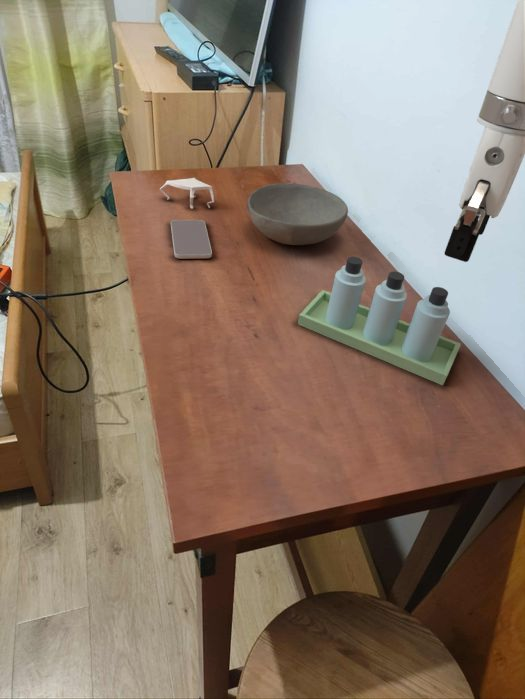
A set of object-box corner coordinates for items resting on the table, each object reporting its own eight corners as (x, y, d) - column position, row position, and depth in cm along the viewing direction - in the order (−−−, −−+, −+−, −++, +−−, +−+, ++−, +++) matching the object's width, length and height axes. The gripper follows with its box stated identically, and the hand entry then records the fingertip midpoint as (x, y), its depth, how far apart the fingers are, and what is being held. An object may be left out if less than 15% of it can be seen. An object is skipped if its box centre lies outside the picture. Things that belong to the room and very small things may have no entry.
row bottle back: (358, 318, 90) (375, 259, 82) (347, 333, 86) (364, 272, 78) (332, 308, 91) (346, 249, 83) (320, 322, 88) (334, 261, 80)
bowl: (298, 272, 100) (304, 236, 95) (224, 231, 110) (226, 196, 105) (358, 240, 113) (366, 207, 108) (287, 206, 123) (292, 173, 118)
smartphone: (204, 220, 111) (212, 254, 100) (204, 223, 112) (212, 259, 101) (170, 219, 110) (174, 255, 98) (170, 223, 110) (174, 259, 99)
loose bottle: (434, 349, 85) (460, 289, 77) (426, 366, 82) (452, 305, 74) (406, 338, 87) (428, 278, 79) (397, 353, 83) (419, 292, 75)
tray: (456, 353, 86) (461, 343, 85) (442, 385, 79) (447, 376, 78) (320, 298, 94) (322, 289, 93) (297, 324, 88) (299, 314, 86)
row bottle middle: (395, 334, 87) (416, 274, 80) (386, 349, 84) (407, 288, 76) (368, 323, 89) (386, 263, 81) (358, 337, 86) (376, 276, 78)
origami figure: (209, 194, 123) (210, 174, 120) (214, 210, 117) (215, 189, 114) (159, 194, 121) (158, 173, 117) (161, 210, 114) (160, 189, 111)
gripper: (539, 137, 52) (479, 279, 63) (554, 106, 64) (501, 230, 75) (466, 120, 55) (420, 260, 66) (494, 93, 67) (451, 215, 78)
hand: (464, 244), depth 71 cm, fingers open, 9 cm apart
